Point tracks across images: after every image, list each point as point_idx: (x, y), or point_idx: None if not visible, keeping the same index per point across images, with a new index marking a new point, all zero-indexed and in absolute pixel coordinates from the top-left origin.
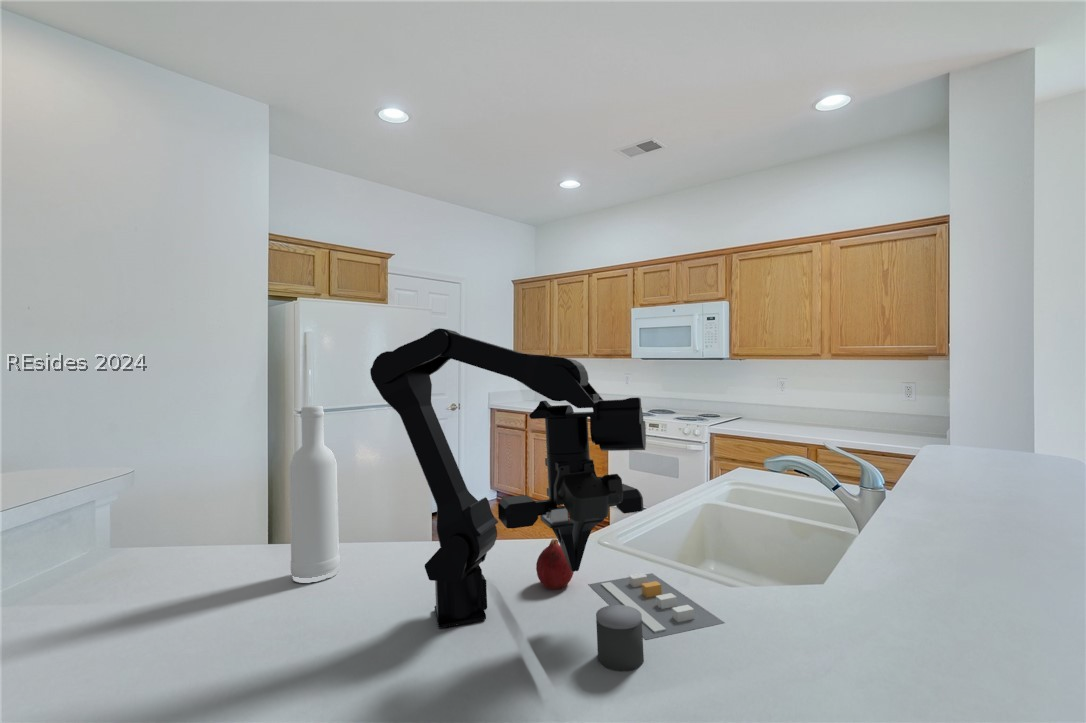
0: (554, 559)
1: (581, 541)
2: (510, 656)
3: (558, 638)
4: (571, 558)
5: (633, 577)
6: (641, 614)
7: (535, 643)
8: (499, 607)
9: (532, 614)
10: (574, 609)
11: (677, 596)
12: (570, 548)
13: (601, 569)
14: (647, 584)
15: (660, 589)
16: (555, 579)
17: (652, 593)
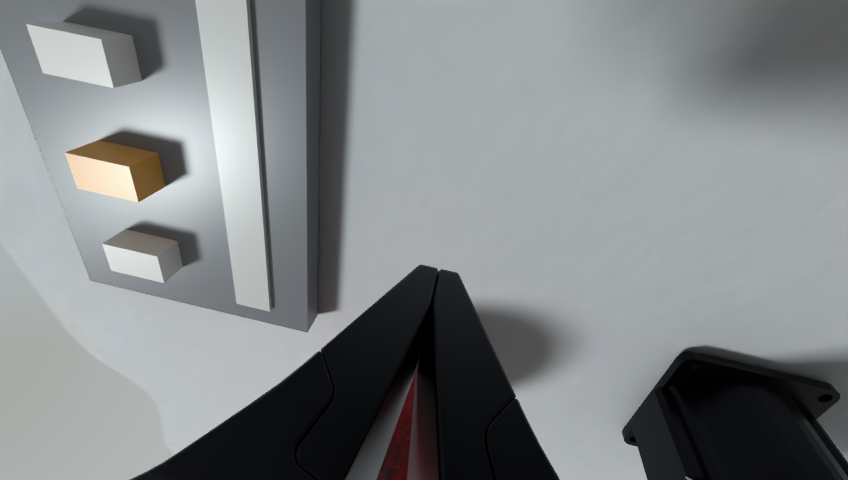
0: (393, 449)
1: (343, 402)
2: (814, 110)
3: (572, 125)
4: (467, 324)
5: (152, 263)
6: (226, 29)
7: (665, 142)
8: (590, 383)
9: (537, 304)
10: (407, 259)
11: (44, 93)
12: (475, 387)
13: (227, 387)
14: (117, 184)
15: (85, 146)
16: (413, 380)
17: (126, 151)
